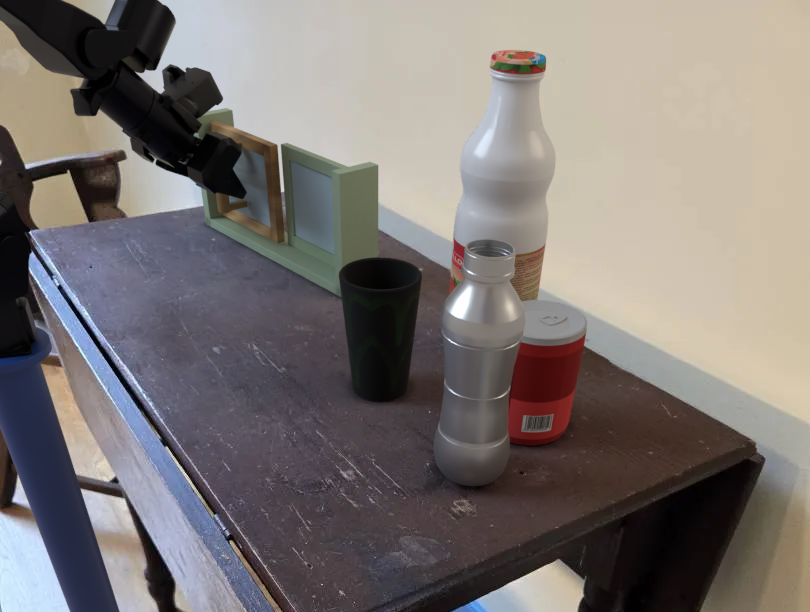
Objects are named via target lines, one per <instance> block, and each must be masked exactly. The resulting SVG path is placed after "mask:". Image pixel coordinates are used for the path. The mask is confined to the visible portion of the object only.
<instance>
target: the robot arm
mask: <svg viewBox="0 0 810 612" xmlns="http://www.w3.org/2000/svg"><path fill="white" fill-rule="evenodd" d="M0 22H2V23H4V25H5V26H6V27H7V28H8V29H9V30H10V31H11V32H12V33H13V34H14V36H15V38H16V39H17V41H18V43H19V45H20V46H21V47H22V48H23V49H24V51H26V53H28V54H29V56H31V57H32V58H33V59H34V60H35V61H36V62H37V63H38V64H39V65H40V66H42V68H43V69H45V70H46V71H49V72H51V73H53V74H58V75H63V76H69V77H74V78H80V79H83V80H82V82H81V84H80V86H79V87H77V88H70V89H69V93H70V95H71V97H72V105H73V110H74V112H73V113H74V114H75V115H76V116H77V117H96V116H97V115H98V113H99V111H101V112H102V113H103V114H104V115H105V116H106V117H108V118H109V119H110V120H111V121H113V123H115V124H116V125H117V126H119V127H120V128H121V132H122V133H123V134H125V135H126V136H127V137H129V141H130V147H131V151H133V152H134V153H135V154H137V155H138V157H140V158H142V159H143V160H145V161H147V162H149V163H151V164H154V163H155V164H154V165H155V166H157V168H158V167H159V168H160V169H163V171H166V172H169V173H173V174H176V175H178V176H179V175H180V176H181V177H182V176H183V177H186V178H187V179H190V180H191V181H192V182H194V183H195V186H197V187H199V188H200V189H201V188H203V189H205V190H207V191H209V192H211V193H213V194H216V193H221V194H225V195H228V196H232V197H236V198H239V199H244V197H245V195H246V194H247V191H246V190H245V188H244V186H243V185H242V183H241V181H240V180H239V178H238V177H237V175H236V173H235V172H234V170H233V168H234V166H235V164H236V162H237V161H238V159H239V157H240V156H241V154H242V148H241V147H240V146H239V145H238V144H237V143H236V142H235V141H234V140H233V139H232V138H230V137H228V136H225V135H223V134H221V133H218V132H210V133H206V134H205V136H204V138H203V139H200V138H198V137H196V136H194V134H195V133H198V131H199V130H200V128H201V126H202V123H200V122H199V121H198V120H197V119H198V118H200V117H201V116H203V115H204V114H205V113H206V112H208V111H211V110H212V109H213V108H214V107H215V106H219V105H220V104H222V102H223V100H224V96H223V95H222V92H221V91H220V89H219V86H218V85H217V83H216V81H215V78H214V76H213V75H212V73H211V71H208V70H205V69H202V68H199V67H197V66H196V67H188V66H187V67H185V69H184V70H185V71H184V70H183V69H182V68H180V67H179V66H177V65H174V64H170V63H169V64H168V65H167V66H166V67H164V68H163V69H162V70H161V75H162V81H163V86H162V88H163V91H162V92H158V91H157V90H156V89H155V88H153V87H152V86H151V85H150V84H149V83H148V82H147V81H146V80H144V79H143V78H142V77H141V75H139V74H145V72H146V71H149V72H150V71H151V72H152V71H156V70H157V69H158V67H159V64H160V62H161V59H162V57H163V54H164V52H165V50H166V47H167V46H168V43H169V41H170V38H171V37H172V33H173V31H174V29H175V27H176V24H177V19H176V17H175V15H174V13H173V11H172V10H171V9H170V8H169V7H168V6H167V4H163V3H162V2H161V1H160V0H114V1H113V4H112V6H111V8H110V11H109V13H108V16H107V18H106V21H105V23H104V22H102V20H101V19H100V18H98V17H96V16H95V15H93V14H91V13H89V12H88V11H85V10H84V9H82V8H80V7H78V6H76V5H74V4H72V3H69V2H67V1H65V0H0ZM31 231H32V230H31V228H30V227H29V226H28V225H26V224H25V222H24V220H22V218H21V216H20V213H19V211H18V209H17V206H16V202H14V200H13V198H12V197H11V195H10V194H9V193H6V192H2V191H0V358H9V357H18V356H27V355H30V354H32V349H33V343H34V342H35V341H36V336H37V329H36V327H37V325H36V323H35V319H34V316H33V312H32V310H31V307H30V306H31V305H30V304H29V300H28V298H26V297H25V296H27V295H29V291H30V278H29V277H30V257H31V254H32V253H33V247H32V243H31V241H30V238H29V236H28V235H27V233H31Z"/></svg>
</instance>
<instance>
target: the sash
mask: <svg viewBox="0 0 810 612" xmlns="http://www.w3.org/2000/svg"><path fill="white" fill-rule="evenodd" d="M210 129H211V132H218V133H221V134H223V135H225V136H228V137H230V138H232V139H233V140H234V141H235V142H236V143H237V144H238V145H239V146H240V147H241V148H242V154H241V156H240V157H239V159H238V161H237V162H236V164H235V166H234V168H233V170H234V172H235V173H236V175H237V177H238V178H239V180H240V181H241V183H242V185H243V186H244V188H245V190H246V191H247V194H246V195H245V197H244V199H239V198H236V197H232V196H228V195H225V194H221V193H216V198H217V205H218V212H219V213H221V214H222V215H223V216H225V217H228V218H229V219H231V220H233V221H235V222H237V223H239V224H241V225H243V226H245V227H247V228H249V229H251V230H253V231H255V232H257V233H259V234H260V235H262V236H264V237H266V238H268V239H270V240H272V241H274V242H276V243H281V242H285V236H284V231H285V224H284V223H285V222H284V211H283V210H284V209H283V198H282V186H281V185H282V184H281V173H280V172H281V171H280V160H279V159H280V158H279V149H278V148H279V147H278V146H279V145H278V144H277V143H274V142H272V141H269V140H267V139H264V138H262V137H259V136H257V135H255V134H252V133H249V132H246V131H245V130H242V129H239V128H237V127H235V126H234V127H232V126H229V125H227V124H224V123H222V122H219V121H212V122H210Z"/></svg>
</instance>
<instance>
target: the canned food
mask: <svg viewBox="0 0 810 612" xmlns="http://www.w3.org/2000/svg"><path fill="white" fill-rule="evenodd" d="M521 303H522V305H523V308H524V313H525V319H526V323H525V327H524V333H523V336H522V340H521V344H520V347H519V351H518V354H517V358H516V361H515V365H514V370H513V376H512V381H511V384H510V385H511V387H510V393H509V409H508V431H509V438H510V444H511V443H512V444H514V445H520V446H541V445H547V444H548V443H552V442H554V441H557V440H558V439H559V438H561V436H562V435H563V434H564V432H566V429H567V427H568V425H569V422H570V418H571V414H572V413H571V412H572V408H573V402H574V398H575V393H576V388H577V382H578V377H579V372H580V368H581V362H582V357H583V352H584V347H585V343H586V336H587V331H588V328H587V327H588V319H587V317H586V316H585V315H584V313H583V312H581V311H580V310H579V309H577V308H576V307H573V306H571V305H568V304H566V303H561V302H557V301H551V300H544V299H543V300H542V299H537V300H529V301H521Z"/></svg>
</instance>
